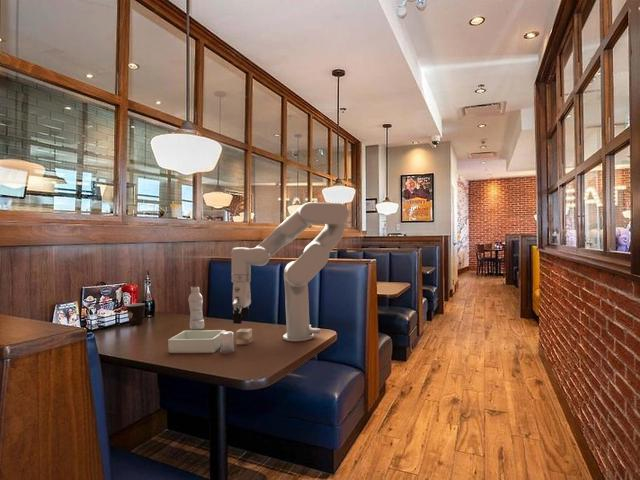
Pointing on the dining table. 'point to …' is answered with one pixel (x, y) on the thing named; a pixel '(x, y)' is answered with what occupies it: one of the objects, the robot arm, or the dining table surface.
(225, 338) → the steel cylinder
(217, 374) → the dining table surface
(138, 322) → the coffee mug
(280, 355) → the dining table surface
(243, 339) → the maple cube
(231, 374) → the dining table surface
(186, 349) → the tote
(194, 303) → the plastic bottle
